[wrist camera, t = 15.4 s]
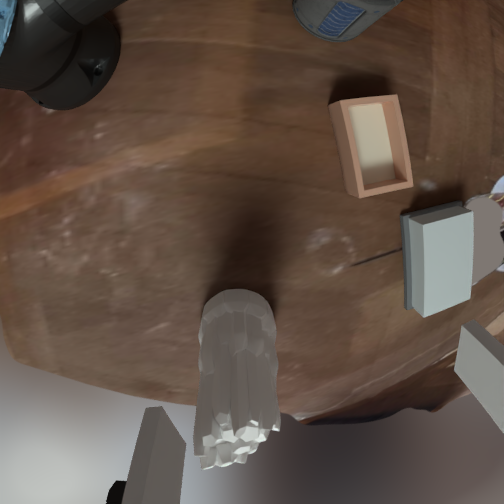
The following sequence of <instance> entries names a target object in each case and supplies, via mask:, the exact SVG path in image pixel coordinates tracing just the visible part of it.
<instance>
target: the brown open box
mask: <svg viewBox="0 0 504 504" xmlns="http://www.w3.org/2000/svg"><path fill="white" fill-rule="evenodd" d="M328 109H329V113H330V118H331V122H332V126H333V131H334V135H335V140H336V144H337V149H338V154H339V159H340V164H341V169H342V174H343V180H344V185H345V191H346V193H349V194H351V195H353V196H355V197H358V198H363V197H367V196H372V195H376V194H381V193H385V192H390V191H395V190H399V189H404V188H409V187H413V179H412V172H411V165H410V158H409V152H408V146H407V140H406V135H405V129H404V124H403V119H402V114H401V110H400V105H399V101H398V97H397V95H385V96H374V97H365V98H356V99H347V100H340V101H337V102H335V103H332V104H330V105H328Z"/></svg>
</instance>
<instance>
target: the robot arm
mask: <svg viewBox="0 0 504 504" xmlns="http://www.w3.org/2000/svg"><path fill="white" fill-rule="evenodd" d="M125 1H127V0H0V88H5V89H13V90H20V91H24V92H25V93H27V94H28V95H29V96H30V97H31V98H32V99H33V100H34V101H35V102H36V103H37V104H39V105H41V106H43V107H45V108H48V109H54V110H69V109H74V108H76V107H79V106H81V105H83V104H85V103H86V102H88V101H90V100H91V99H92V98H93V97H95V96H96V95H97V94H98V93H99V92H100V91H101V90H102V89H103V88H104V86H105V85H106V84H107V82H108V81H109V79H110V78H111V76H112V74H113V72H114V70H115V68H116V65H117V62H118V59H119V54H120V39H119V35H118V32H117V30H116V28H115V27H114V26H113V24H112V23H111V22H110V21H108V20H107V19H106V18H105V17H104V16H102V15H104V14H105V13H107V12H109V11H110V10H112V9H114V8H115V7H117V6H119V5H120V4H122V3H124V2H125ZM454 371H455V372H456V373H457V375H458V376H459V377H460V378H461V379H462V381H463V382H464V383H465V384H466V386H467V387H468V388H469V389H470V391H471V392H472V393H473V394H474V396H475V397H476V398H477V399H478V400H479V402H480V403H481V404H482V406H483V407H484V408H485V409H486V411H487V412H488V413H489V415H490V416H491V417H492V419H493V420H494V421H495V423H496V424H497V425H498V427H499V428H500V429H501V431H502V432H503V433H504V346H503V345H502V344H501V343H500V342H499V341H498V340H497V339H495V338H494V337H493V336H492V335H491V334H490V333H489V332H488V331H487V330H485V329H484V328H483V327H482V326H481V325H480V324H479V323H478V322H476V321H475V320H472V321H470V322H468V323H465V324H463V325H462V327H461V334H460V340H459V346H458V352H457V358H456V363H455V368H454ZM185 450H186V443H185V441H184V440H183V438H182V437H181V435H180V434H179V432H178V431H177V429H176V428H175V426H174V425H173V423H172V422H171V420H170V418H169V417H168V415H167V414H166V412H165V410H164V409H163V407H162V406H160V407H149V408H146V409H145V413H144V416H143V420H142V423H141V427H140V431H139V435H138V438H137V442H136V446H135V450H134V454H133V458H132V462H131V466H130V470H129V474H128V478H127V481H116V482H115V483H114V484H113V486H112V487H111V488H110V490H109V492H108V496H107V500H106V502H107V503H106V504H180V495H181V485H182V476H183V467H184V458H185Z"/></svg>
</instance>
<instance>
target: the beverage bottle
mask: <svg viewBox="0 0 504 504" xmlns="http://www.w3.org/2000/svg"><path fill="white" fill-rule="evenodd" d="M401 1H403V0H293V11H294V14H295V17H296V18H297V20H298V22H299V23H300V24H301V25H302V26H303V28H304V29H306V30H307V31H308V32H309V33H311V34H313V35H314V36H316V37H318V38H321V39H323V40H327V41H331V42H345V41H348V40H352V39H353V38H355V37H357V36H358V35H359V34H360V33H362V32H363V31H364V30H365V29H367V28H368V27H369V26H370V25H372V24H373V23H374V22H375V21H377V20H378V19H379V18H380V17H382V16H383V15H384V14H386V13H387V12H388V11H390V10H391V9H392V8H393V7H395V6H396V5H397V4H399V3H400V2H401Z"/></svg>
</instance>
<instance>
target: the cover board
mask: <svg viewBox="0 0 504 504" xmlns="http://www.w3.org/2000/svg"><path fill="white" fill-rule="evenodd" d="M473 227H474V226H473V211H471V210H469V209H466V208H463V207H460V206H455V207H451V208H447V209H443V210H439V211H435V212H431V213H427V214H423V215H419V216H416V217H412V218H409V229H410V244H411V265H412V306H413V307H414V308H415V309H416V310H417V312H418V313H419V314H420V315H421V316H422V317H423V318H424V317H427V316H429V315H432V314H434V313H437V312H439V311H442V310H444V309H447V308H449V307H452V306H454V305H456V304H459V303H461V302H463V301H466V300H468V299H470V294H471V283H472V268H473V238H474V233H473V232H474V230H473Z"/></svg>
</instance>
